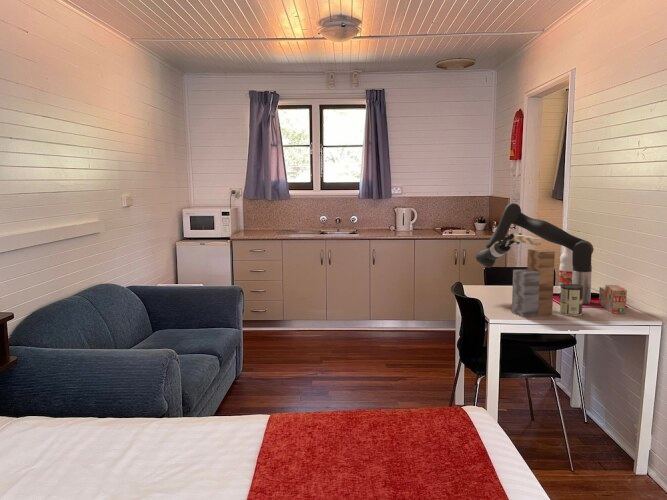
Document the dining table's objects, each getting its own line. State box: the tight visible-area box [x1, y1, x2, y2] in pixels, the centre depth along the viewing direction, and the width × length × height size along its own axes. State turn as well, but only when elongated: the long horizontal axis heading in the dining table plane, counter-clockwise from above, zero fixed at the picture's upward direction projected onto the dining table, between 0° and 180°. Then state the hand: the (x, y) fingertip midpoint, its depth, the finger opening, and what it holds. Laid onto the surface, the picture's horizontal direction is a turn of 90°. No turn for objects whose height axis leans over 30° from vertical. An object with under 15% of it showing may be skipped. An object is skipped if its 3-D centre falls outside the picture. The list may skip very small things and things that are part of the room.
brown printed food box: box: [598, 284, 628, 315], centre depth 264 cm, size 21×6×12 cm, turn 169°
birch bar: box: [511, 233, 542, 246], centre depth 254 cm, size 20×4×3 cm, turn 14°
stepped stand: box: [511, 248, 556, 318], centre depth 255 cm, size 10×16×32 cm, turn 105°
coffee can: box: [559, 284, 583, 317], centre depth 256 cm, size 10×10×14 cm
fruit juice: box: [558, 246, 573, 291], centre depth 308 cm, size 9×9×28 cm
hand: (516, 235), depth 260 cm, fingers closed on birch bar, 4 cm apart
